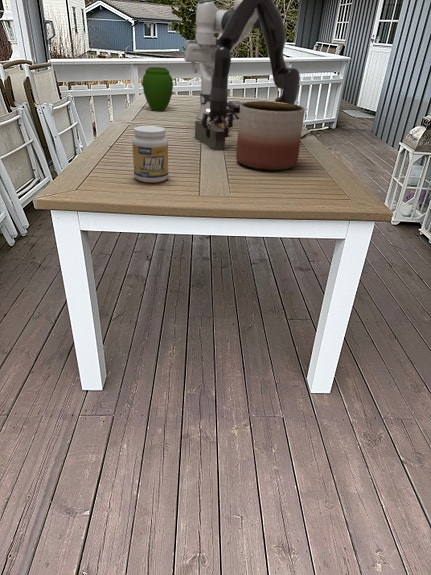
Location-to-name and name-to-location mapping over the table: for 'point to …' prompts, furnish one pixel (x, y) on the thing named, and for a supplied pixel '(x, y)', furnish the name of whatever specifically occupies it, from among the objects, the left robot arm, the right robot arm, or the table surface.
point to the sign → (234, 105)
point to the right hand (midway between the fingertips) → (216, 137)
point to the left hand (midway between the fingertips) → (203, 72)
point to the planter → (269, 134)
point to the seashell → (222, 126)
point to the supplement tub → (150, 154)
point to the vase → (157, 88)
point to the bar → (215, 138)
